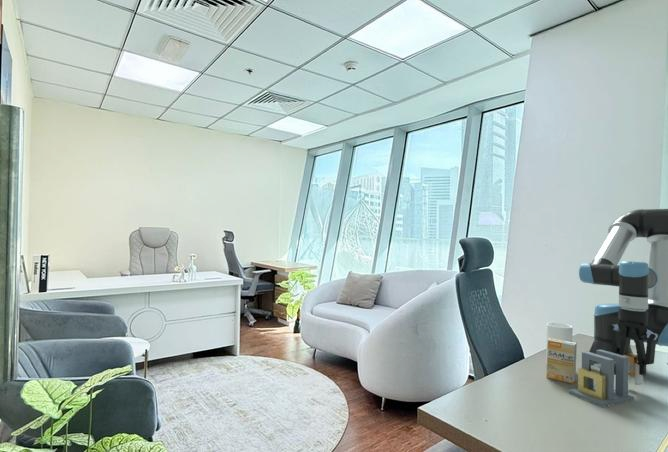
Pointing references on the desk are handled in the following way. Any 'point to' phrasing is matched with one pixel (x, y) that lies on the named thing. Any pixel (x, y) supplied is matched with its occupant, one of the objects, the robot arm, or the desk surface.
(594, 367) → the shaft
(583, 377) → the yellow square frame
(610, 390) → the bracket
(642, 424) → the desk surface
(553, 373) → the supplement box
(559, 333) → the white hollow tube
